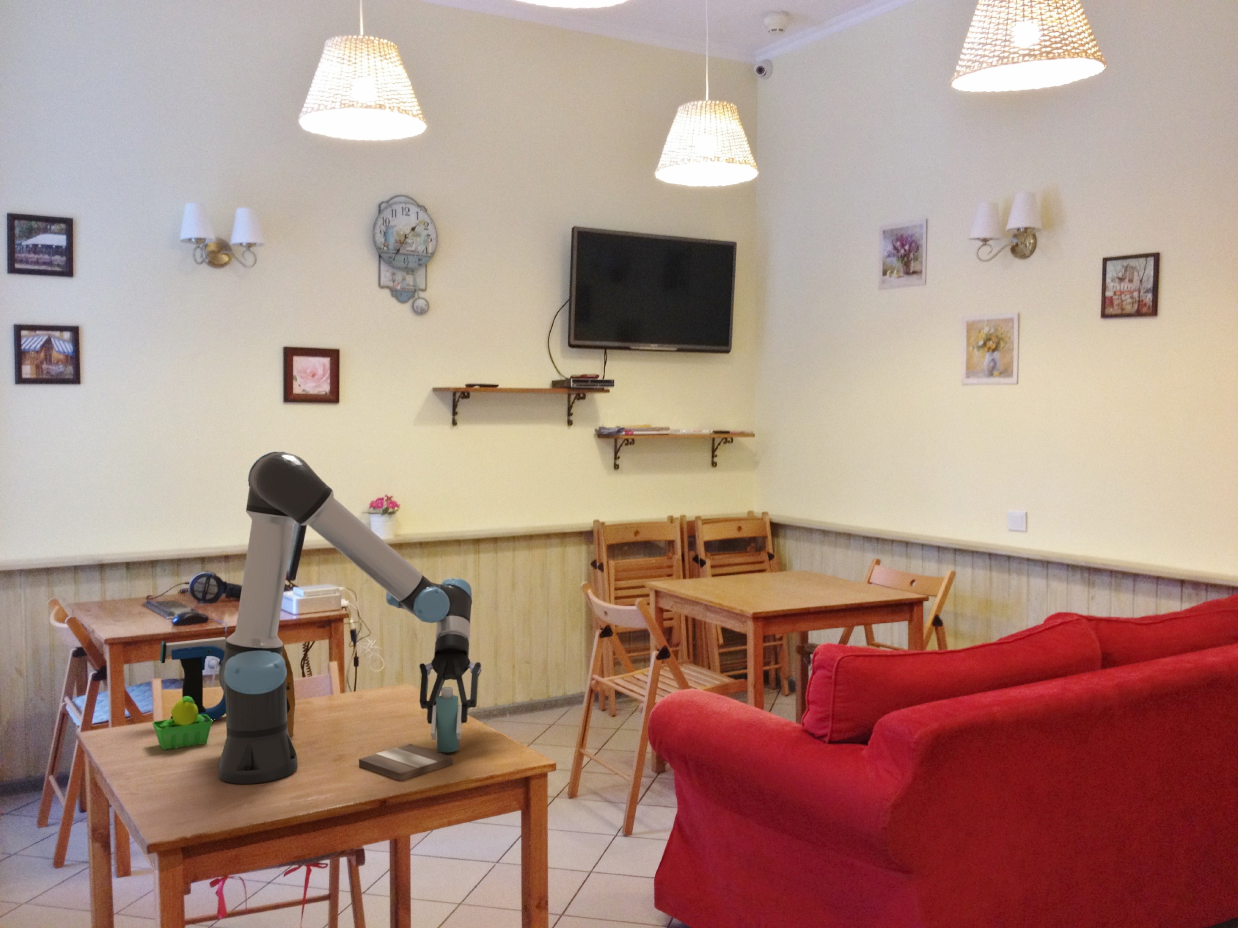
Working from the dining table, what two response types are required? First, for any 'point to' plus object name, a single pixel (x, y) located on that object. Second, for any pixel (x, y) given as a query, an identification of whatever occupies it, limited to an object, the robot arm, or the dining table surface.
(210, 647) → the handheld scanner
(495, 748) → the dining table surface
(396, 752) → the brown cream striped panel
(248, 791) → the dining table surface
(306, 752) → the dining table surface
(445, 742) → the teal bottle with cap
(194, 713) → the fruit basket
